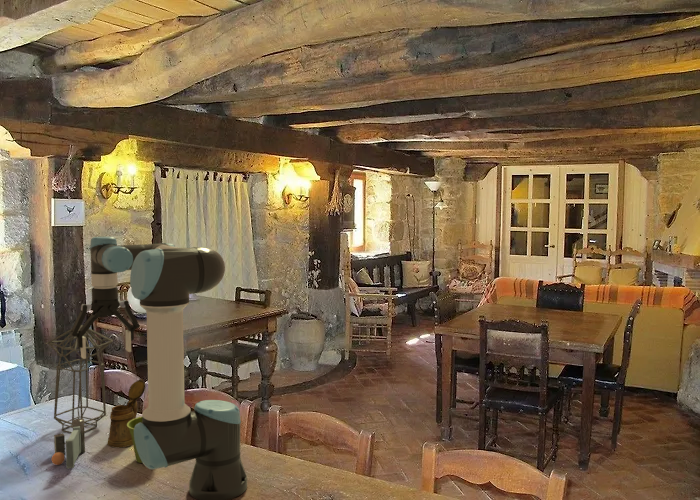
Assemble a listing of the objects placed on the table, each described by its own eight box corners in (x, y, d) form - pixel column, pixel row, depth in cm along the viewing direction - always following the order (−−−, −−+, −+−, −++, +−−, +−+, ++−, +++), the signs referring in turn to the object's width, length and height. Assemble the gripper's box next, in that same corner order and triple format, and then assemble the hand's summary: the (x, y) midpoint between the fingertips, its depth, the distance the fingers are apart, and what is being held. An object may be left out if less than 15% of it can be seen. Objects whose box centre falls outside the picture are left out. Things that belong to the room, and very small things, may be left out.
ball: (66, 464, 176) (66, 453, 176) (53, 468, 174) (52, 456, 174) (63, 460, 179) (62, 449, 179) (50, 463, 177) (49, 452, 176)
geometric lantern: (83, 417, 214) (83, 318, 211) (115, 426, 207) (116, 324, 204) (42, 432, 200) (42, 326, 197) (76, 442, 193) (76, 333, 190)
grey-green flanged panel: (74, 452, 182) (73, 426, 182) (81, 452, 183) (80, 426, 182) (66, 468, 172) (65, 441, 171) (73, 468, 172) (72, 440, 171)
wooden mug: (154, 434, 199) (153, 380, 197) (122, 450, 187) (121, 392, 185) (133, 429, 203) (132, 376, 201) (101, 444, 191) (99, 388, 189)
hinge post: (86, 452, 184) (85, 420, 184) (75, 455, 182) (74, 423, 182) (83, 449, 187) (82, 417, 186) (72, 452, 185) (71, 419, 184)
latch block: (65, 454, 183) (64, 435, 182) (56, 456, 182) (55, 437, 181) (63, 452, 185) (62, 433, 184) (54, 454, 183) (54, 435, 183)
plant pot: (178, 456, 182) (177, 420, 181) (145, 471, 173) (144, 432, 172) (152, 447, 189) (151, 412, 188) (119, 461, 179) (118, 423, 178)
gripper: (140, 282, 199) (142, 346, 201) (58, 288, 184) (60, 358, 186) (149, 284, 193) (150, 350, 195) (64, 292, 178) (66, 363, 180)
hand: (106, 354), depth 191 cm, fingers open, 13 cm apart
